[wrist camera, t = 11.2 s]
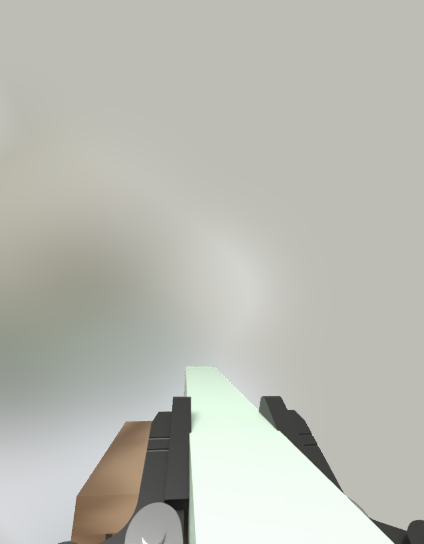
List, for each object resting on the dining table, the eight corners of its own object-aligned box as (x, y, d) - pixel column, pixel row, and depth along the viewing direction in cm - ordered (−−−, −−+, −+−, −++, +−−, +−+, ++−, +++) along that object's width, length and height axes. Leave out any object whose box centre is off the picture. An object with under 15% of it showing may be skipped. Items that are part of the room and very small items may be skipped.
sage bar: (213, 397, 25) (213, 366, 26) (517, 1017, 2) (442, 592, 3) (184, 397, 25) (185, 366, 26) (190, 1119, 2) (200, 615, 3)
